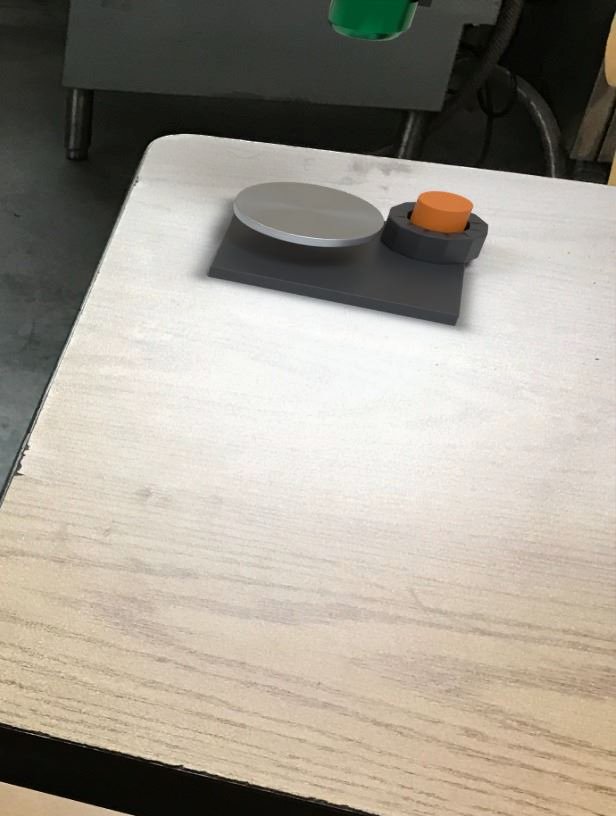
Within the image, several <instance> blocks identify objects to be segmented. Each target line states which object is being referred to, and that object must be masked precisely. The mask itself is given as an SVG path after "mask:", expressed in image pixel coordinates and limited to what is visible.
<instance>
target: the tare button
mask: <svg viewBox="0 0 616 816" xmlns="http://www.w3.org/2000/svg"><path fill="white" fill-rule="evenodd" d="M415 202H416V205H415V207H414V210H413V213H412V215H411V218H410V221H411V222H412V223H413V224H415V225H418V226H421V227H423V228H426V229H428V230H434V231H440V232H445V233H451V232H463V231H464V229H465V227H466V224H467V222H468V219H469V217H470V214H471V213H472V211H473V209H474V203H473V202H472V201H471V200H470V199H468V198H466V197H465V196H462V195H459V194H457V193H453V192H450V191H449V192H448V191H441V190H429V191H424V192H421V193H420V194H419V195H418V197H417V199H416V201H415Z"/></svg>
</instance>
